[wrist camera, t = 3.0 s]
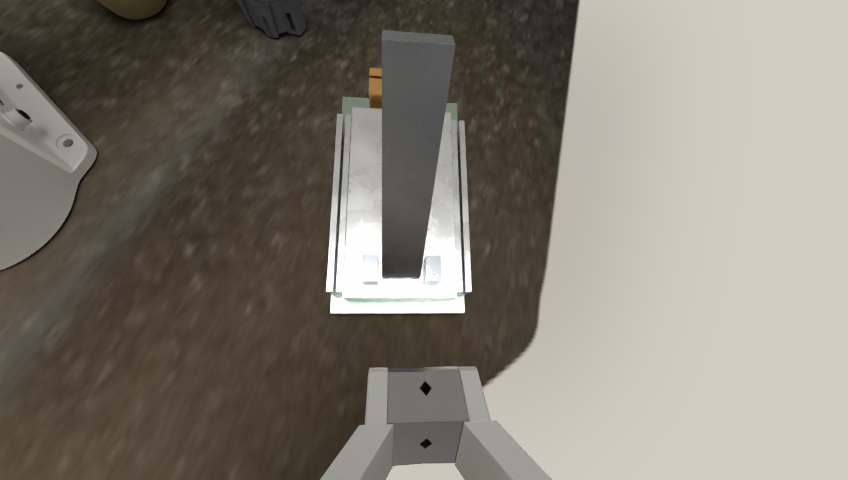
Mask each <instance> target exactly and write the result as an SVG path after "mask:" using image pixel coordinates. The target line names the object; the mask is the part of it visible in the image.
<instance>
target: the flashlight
mask: <svg viewBox="0 0 848 480" xmlns="http://www.w3.org/2000/svg"><path fill="white" fill-rule="evenodd" d="M237 2H238V4H239V6H240V8H241V10H242V12H243V14H244V16H245V18H246V20H247V22H248V23H249V24H250V25H251V26H252V27H253V28H256V27H257V26H258V27H259V28H261V29H263V30H264V31H265V33H266V35H267V36H269V37H272V38H279V34H281V33H285V32H287V33H289V34H294V35H299V36H300V35H302V33H303V32H304V31H305V29H306V24H305V21H304V17H303V14H302V10H301V5H300V1H299V0H237Z"/></svg>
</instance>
